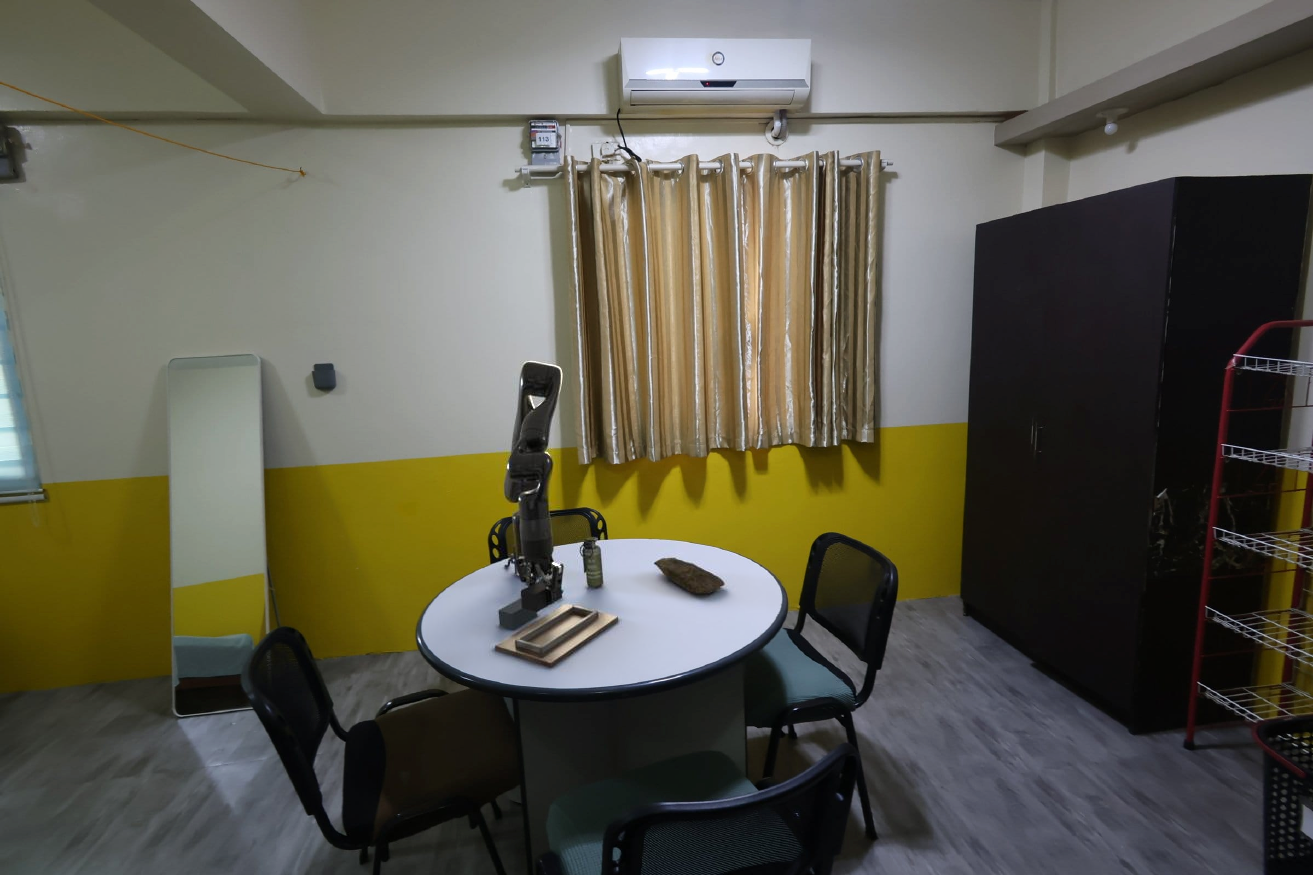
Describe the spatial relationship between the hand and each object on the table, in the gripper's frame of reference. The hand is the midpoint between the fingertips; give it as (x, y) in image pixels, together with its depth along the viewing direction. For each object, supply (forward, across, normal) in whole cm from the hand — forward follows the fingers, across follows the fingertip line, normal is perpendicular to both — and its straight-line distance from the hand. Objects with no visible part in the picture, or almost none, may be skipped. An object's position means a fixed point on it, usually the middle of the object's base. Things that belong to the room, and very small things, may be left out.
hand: (542, 601), depth 149 cm
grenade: (+11, +11, -33) cm, 36 cm away
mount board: (+11, 0, -5) cm, 12 cm away
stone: (+11, -13, -47) cm, 50 cm away
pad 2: (0, 0, 0) cm, 0 cm away
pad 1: (+11, +15, -6) cm, 19 cm away
